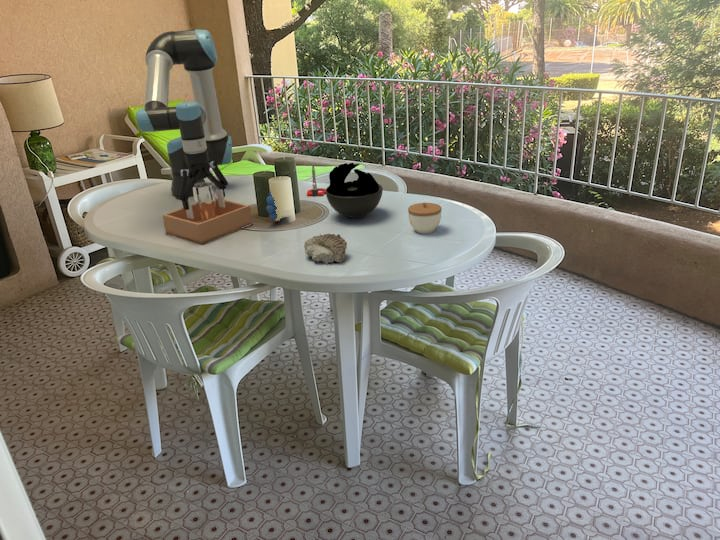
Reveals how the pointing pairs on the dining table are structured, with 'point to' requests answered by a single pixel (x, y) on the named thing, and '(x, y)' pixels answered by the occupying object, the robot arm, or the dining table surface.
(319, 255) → the seashell
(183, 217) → the open box
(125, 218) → the dining table surface
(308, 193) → the tow hook
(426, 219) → the lidded jar
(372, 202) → the coal bowl
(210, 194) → the beer glass
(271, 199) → the grapes
